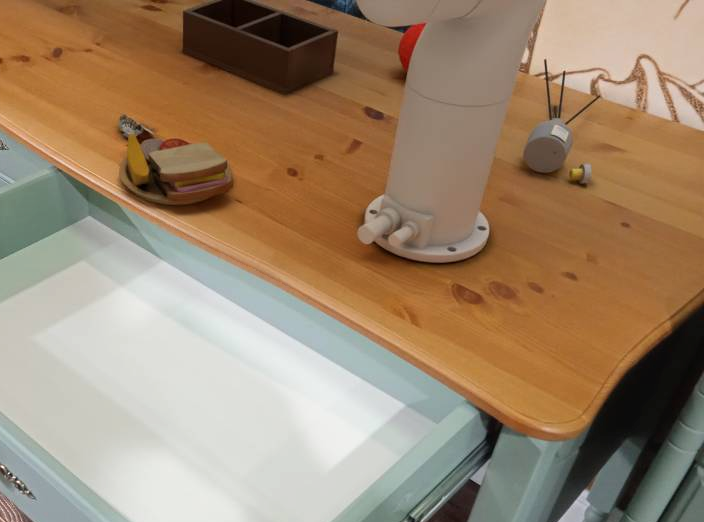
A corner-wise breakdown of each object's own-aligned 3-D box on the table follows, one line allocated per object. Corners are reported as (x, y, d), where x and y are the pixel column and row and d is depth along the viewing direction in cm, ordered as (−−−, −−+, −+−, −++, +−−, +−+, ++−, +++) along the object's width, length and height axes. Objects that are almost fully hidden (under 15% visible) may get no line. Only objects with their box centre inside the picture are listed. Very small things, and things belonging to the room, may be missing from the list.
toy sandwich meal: (217, 146, 101) (218, 109, 97) (245, 209, 91) (248, 169, 88) (112, 156, 99) (110, 118, 96) (130, 220, 90) (128, 181, 86)
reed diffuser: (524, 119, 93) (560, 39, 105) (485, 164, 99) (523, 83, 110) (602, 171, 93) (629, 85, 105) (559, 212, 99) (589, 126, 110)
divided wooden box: (284, 95, 112) (288, 51, 108) (182, 52, 122) (182, 10, 118) (333, 73, 117) (338, 30, 113) (231, 34, 127) (232, -7, 123)
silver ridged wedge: (134, 142, 101) (152, 153, 103) (144, 124, 100) (162, 136, 102) (112, 129, 105) (130, 141, 107) (122, 112, 105) (139, 124, 107)
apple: (412, 60, 120) (422, 6, 115) (463, 76, 117) (476, 20, 112) (382, 78, 116) (392, 22, 111) (434, 95, 112) (446, 38, 107)
